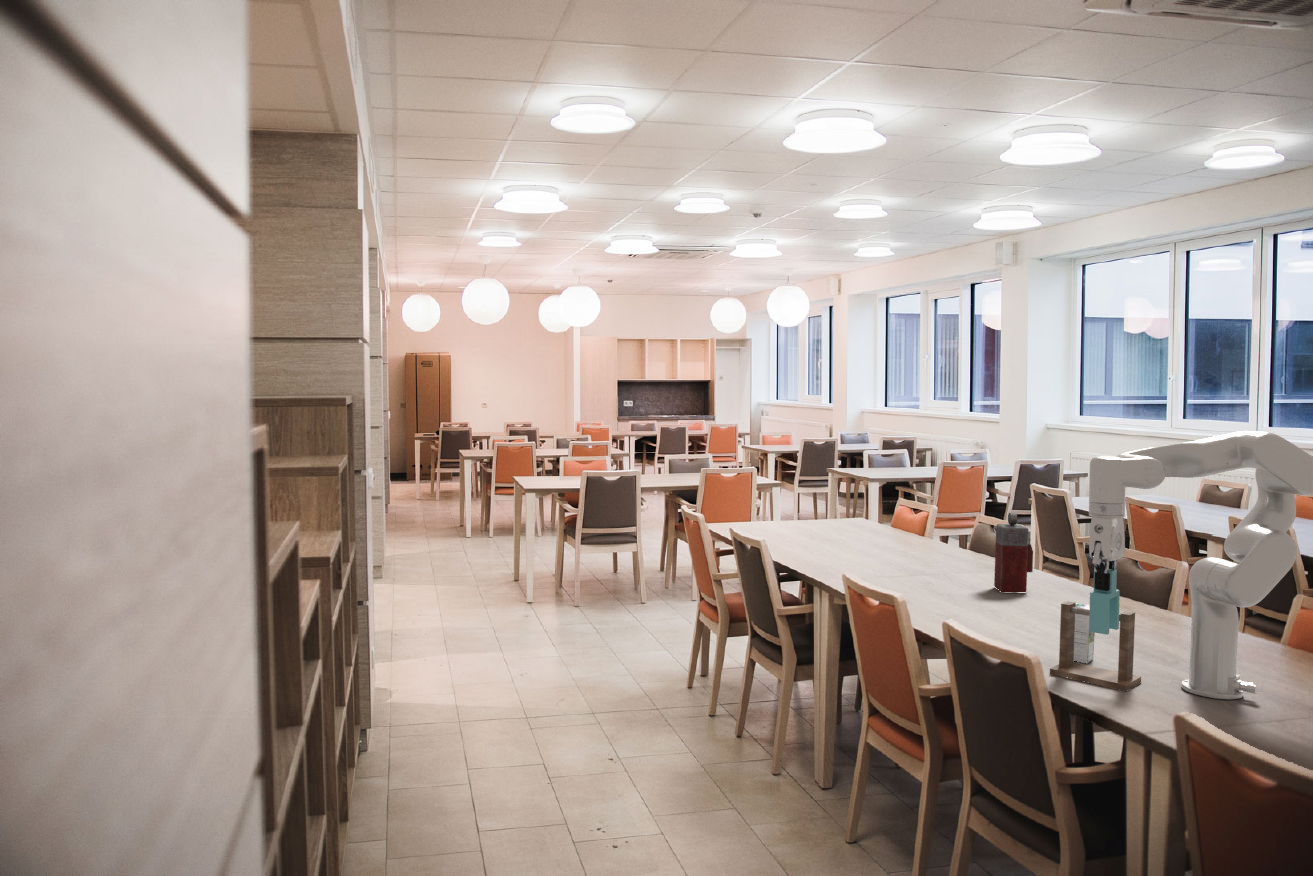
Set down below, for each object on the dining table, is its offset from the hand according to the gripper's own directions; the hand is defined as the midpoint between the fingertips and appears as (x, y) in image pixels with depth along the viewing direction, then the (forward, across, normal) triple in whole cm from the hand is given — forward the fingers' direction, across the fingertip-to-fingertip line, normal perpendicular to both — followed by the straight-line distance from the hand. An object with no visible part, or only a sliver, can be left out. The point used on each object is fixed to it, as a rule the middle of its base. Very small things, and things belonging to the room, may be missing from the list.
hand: (1105, 588), depth 219 cm
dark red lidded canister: (+26, +98, +66) cm, 121 cm away
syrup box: (+25, +24, +15) cm, 38 cm away
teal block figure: (+10, 0, 0) cm, 10 cm away
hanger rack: (+25, +10, +6) cm, 27 cm away
